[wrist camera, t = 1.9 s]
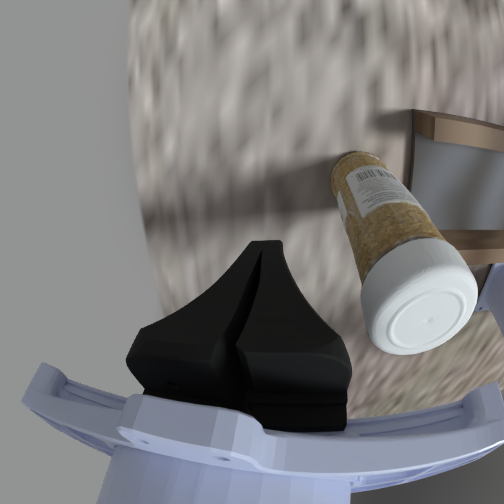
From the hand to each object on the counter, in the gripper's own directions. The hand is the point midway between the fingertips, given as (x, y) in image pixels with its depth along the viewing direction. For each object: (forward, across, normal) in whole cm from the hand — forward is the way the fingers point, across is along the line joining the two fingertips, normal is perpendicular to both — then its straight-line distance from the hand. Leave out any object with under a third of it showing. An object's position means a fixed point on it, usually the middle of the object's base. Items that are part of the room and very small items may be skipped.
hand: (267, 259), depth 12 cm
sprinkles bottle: (+10, -6, 0) cm, 11 cm away
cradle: (+9, -16, 0) cm, 19 cm away
